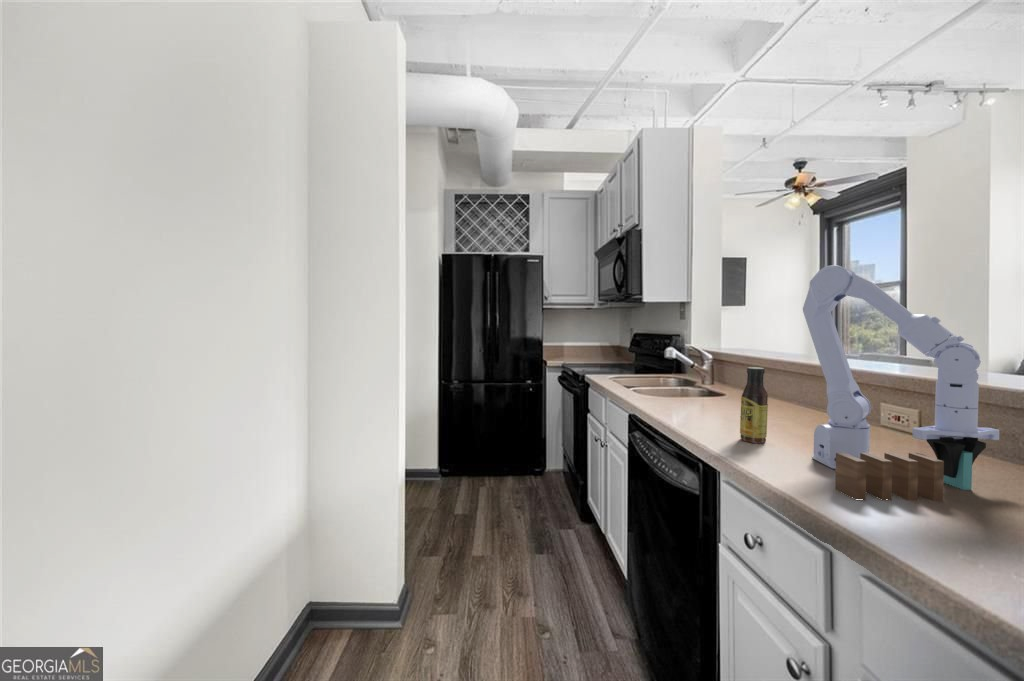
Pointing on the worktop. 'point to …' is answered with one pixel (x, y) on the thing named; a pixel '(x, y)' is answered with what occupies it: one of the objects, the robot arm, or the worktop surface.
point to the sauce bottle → (754, 408)
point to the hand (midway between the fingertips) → (954, 476)
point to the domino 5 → (962, 472)
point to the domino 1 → (850, 476)
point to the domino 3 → (903, 476)
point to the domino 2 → (878, 476)
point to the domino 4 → (929, 476)
